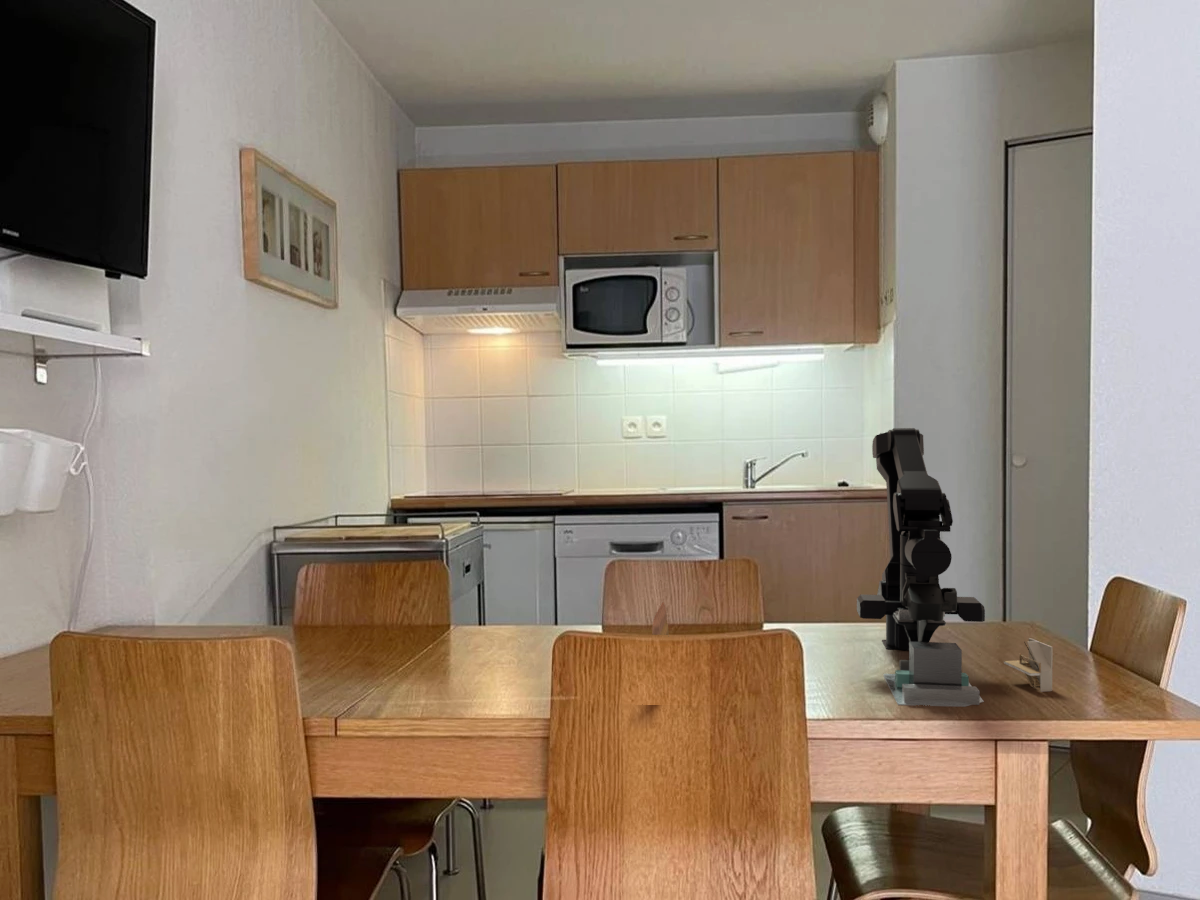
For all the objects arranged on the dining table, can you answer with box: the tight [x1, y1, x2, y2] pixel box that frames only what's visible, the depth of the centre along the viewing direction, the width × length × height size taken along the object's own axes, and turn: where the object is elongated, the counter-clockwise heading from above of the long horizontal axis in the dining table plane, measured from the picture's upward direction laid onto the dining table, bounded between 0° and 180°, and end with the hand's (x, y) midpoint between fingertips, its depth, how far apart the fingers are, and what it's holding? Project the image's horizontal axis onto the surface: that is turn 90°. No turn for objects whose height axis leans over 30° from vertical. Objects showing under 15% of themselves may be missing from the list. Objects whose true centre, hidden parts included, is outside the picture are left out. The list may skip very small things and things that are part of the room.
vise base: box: [882, 673, 985, 708], centre depth 132 cm, size 15×12×2 cm
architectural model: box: [1003, 637, 1054, 692], centre depth 133 cm, size 3×7×7 cm, turn 7°
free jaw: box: [894, 659, 970, 687], centre depth 136 cm, size 8×10×2 cm
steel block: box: [908, 641, 963, 686], centre depth 130 cm, size 4×6×7 cm, turn 80°
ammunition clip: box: [651, 602, 669, 636], centre depth 137 cm, size 11×2×12 cm, turn 170°
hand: (918, 661), depth 143 cm, fingers closed
